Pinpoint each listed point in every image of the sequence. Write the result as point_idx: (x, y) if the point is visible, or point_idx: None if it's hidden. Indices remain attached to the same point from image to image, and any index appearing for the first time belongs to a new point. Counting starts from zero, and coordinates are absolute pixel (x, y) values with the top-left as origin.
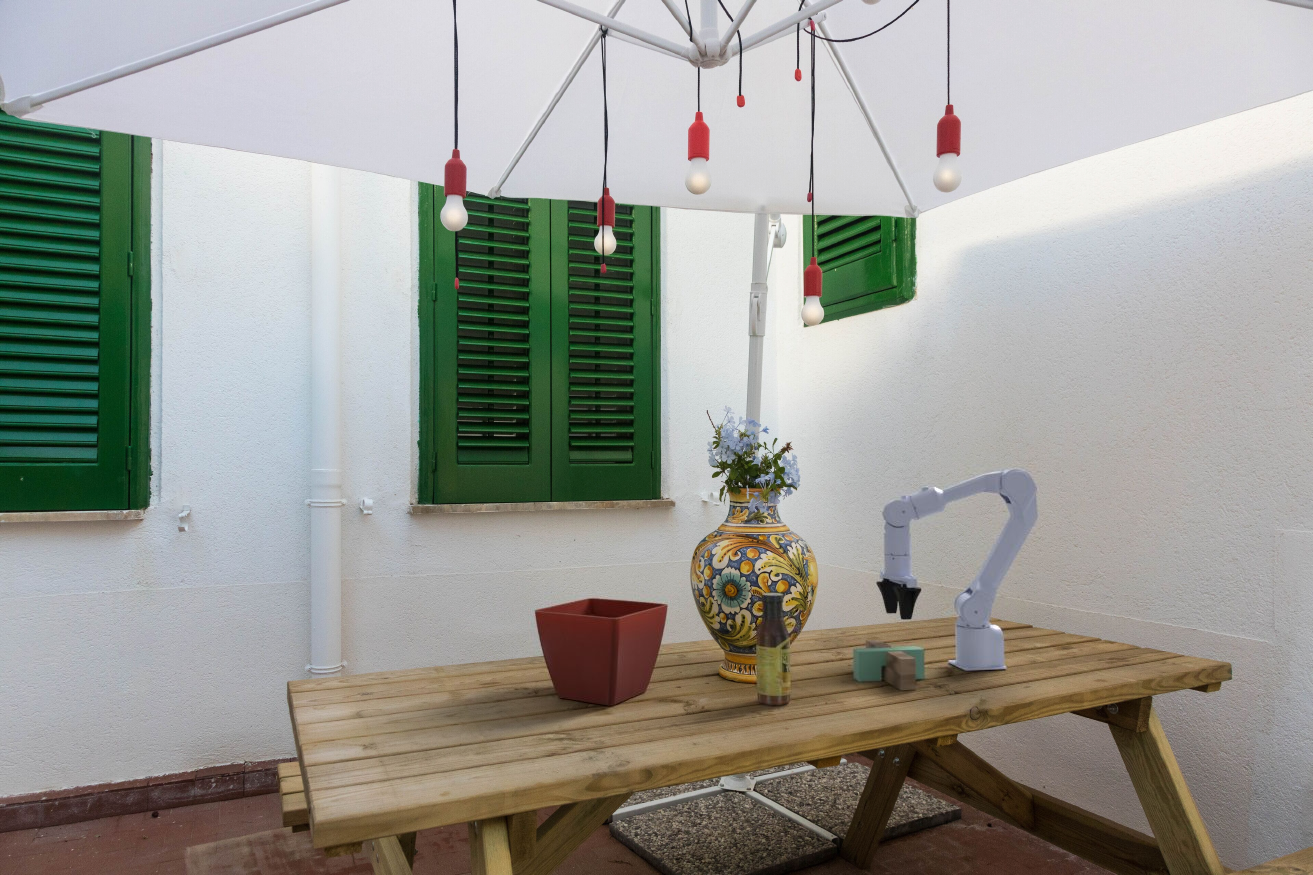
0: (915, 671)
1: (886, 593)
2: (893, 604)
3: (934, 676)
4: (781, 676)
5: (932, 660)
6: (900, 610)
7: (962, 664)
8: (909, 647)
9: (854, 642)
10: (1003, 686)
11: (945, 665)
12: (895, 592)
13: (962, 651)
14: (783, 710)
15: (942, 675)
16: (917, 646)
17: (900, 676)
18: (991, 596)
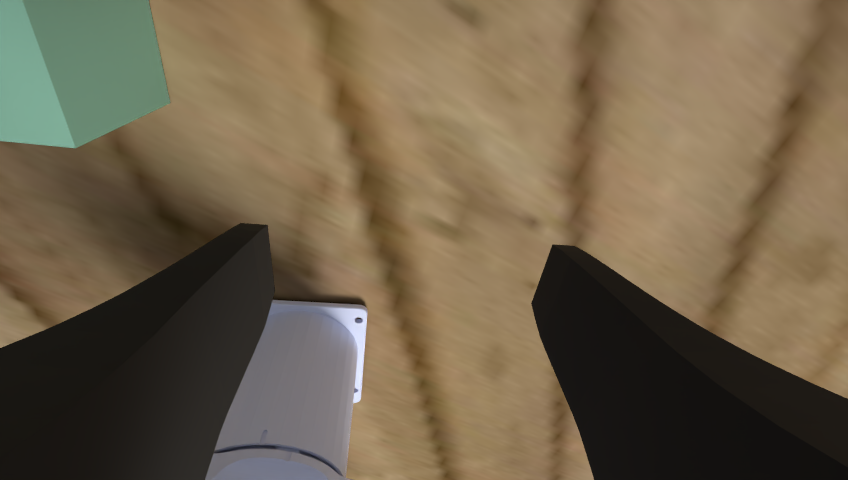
0: None
1: (667, 393)
2: (566, 341)
3: (152, 160)
4: None
5: (417, 278)
6: (199, 256)
7: (276, 315)
8: (11, 67)
9: (828, 159)
10: (14, 300)
11: (335, 281)
12: (22, 426)
13: (260, 352)
14: None
15: (172, 198)
16: (63, 140)
17: None
18: None
